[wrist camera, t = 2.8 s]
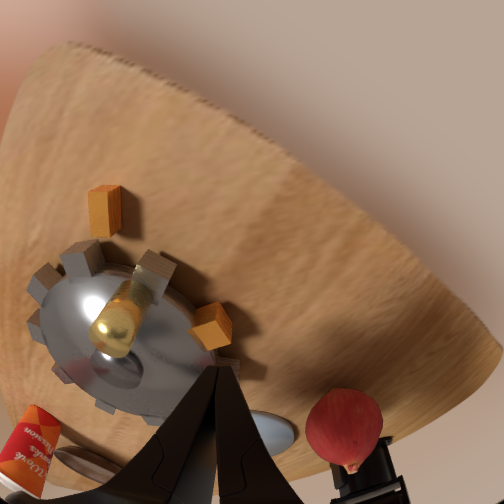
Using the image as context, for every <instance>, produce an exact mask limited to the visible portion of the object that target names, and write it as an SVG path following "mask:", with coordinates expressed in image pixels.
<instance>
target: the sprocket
mask: <svg viewBox="0 0 504 504" xmlns="http://www.w3.org/2000/svg"><path fill="white" fill-rule="evenodd" d="M60 258H61V261H62V264H63V266H64V269H65V272H66V274H65V275H64V276H63V277H62V276H61V275H60V274H59V273H58V272H57V271H56V270H55V269H54V268H53V267H52V266H51V265H50V263H49V262H48V263H46V264H45V265H44V266H43V267H42V268H41V269H39V270H38V271H37V272H36V273H35V274H34V275H33V276H32V279H31V281H30V283H29V286H28V288H27V290H26V291H27V292H28V293H29V294H30V295H31V296H32V297H33V298H34V299H35V300H36V301H37V302H38V303H39V304H40V305H41V308H40V309H39V308H38V309H37V310H36V311H35V313H34V314H33V315H32V316H31V317H30V318H29V319H28V320H27V325H28V328H29V331H30V334H31V337H32V340H35V341H37V342H39V343H42V344H44V345H46V346H47V348H48V350H49V352H50V354H51V356H52V357H53V359H54V360H55V364H54V365H53V367H52V368H51V370H52V371H53V372H54V373H55V374H56V375H57V376H58V377H59V378H60V380H61V381H62V382H63V383H64V384H70V383H75V384H76V385H77V386H79V387H80V388H81V389H82V390H84V391H85V392H87V393H88V394H89V395H91V396H92V397H94V398H96V403H95V406H96V407H98V408H100V409H102V410H104V411H106V412H108V413H110V414H112V415H114V412H115V409H118V410H121V411H124V412H127V413H131V414H135V415H139V416H142V417H143V419H144V420H145V422H146V423H147V424H148V425H152V426H161V425H162V424H163V422H164V421H165V420H166V419H167V417H168V416H169V415H170V413H171V412H172V411H173V410H174V408H175V407H176V406H177V404H178V403H179V402H180V401H181V399H182V398H183V397H184V395H185V394H186V393H187V391H188V390H189V389H190V387H191V386H192V385H193V384H194V382H195V381H196V380H197V378H198V377H199V376H200V374H201V373H202V372H203V370H204V369H205V368H206V366H208V365H219V366H220V365H231V366H232V368H233V370H234V373H235V375H236V378H237V380H238V382H239V370H240V360H238V359H232V358H225V357H219V356H218V349H217V348H219V347H222V346H225V345H228V344H231V338H232V326H233V323H232V322H231V320H230V319H229V317H228V315H227V314H226V312H225V311H224V309H223V307H222V306H221V304H220V303H219V301H217V302H215V303H212V304H209V305H207V306H204V307H201V308H199V309H196V308H195V307H194V306H193V305H192V304H191V303H190V302H189V301H188V300H187V299H186V298H185V297H184V296H183V295H181V294H180V293H179V292H178V291H177V290H175V289H174V288H172V287H171V286H169V285H168V283H169V281H170V279H171V276H172V274H173V272H174V270H175V268H176V266H177V264H176V263H174V262H172V261H170V260H168V259H166V258H164V257H162V256H160V255H158V254H156V253H154V252H153V251H151V250H149V249H148V250H147V252H146V253H145V254H144V255H143V257H142V258H141V259H140V261H139V262H138V263H137V265H136V268H133V267H129V266H126V265H122V264H116V263H107V262H105V259H104V256H103V253H102V250H101V247H100V243H99V240H98V239H95V240H89V241H83V242H77V243H74V244H73V245H72V246H71V247H69V248H68V249H67V250H66V251H64V252H63V253H62V254H61V255H60Z"/></svg>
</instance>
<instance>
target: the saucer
mask: <svg viewBox="0 0 504 504" xmlns="http://www.w3.org/2000/svg"><path fill="white" fill-rule="evenodd" d="M54 455H55V457H56V458H57V459H58V460H59V461H61V462H62V463H63V464H65V465H66V466H67V467H69V468H70V469H72V470H74V471H75V472H77V473H79V474H81V475H83V476H85V477H87V478H89V479H91V480H93V481H96V482H98V483H101V484H105V483H106V482H107V481H108V480H110V479H111V478H112V477H113V476H114V475H115V474H116V473H117V472H119V471H120V470H121V469H122V468H120V467H119V466H117V465H116V464H114V463H112V462H111V461H109V460H107V459H105V458H103V457H101V456H99V455H97V454H94V453H92V452H89V451H87V450H84V449H81V448H78V447H72V446H68V447H62V448H59V449H56V450H54Z"/></svg>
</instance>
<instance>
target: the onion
mask: <svg viewBox="0 0 504 504" xmlns="http://www.w3.org/2000/svg"><path fill="white" fill-rule="evenodd" d="M382 428H383V418H382V414H381V411H380V408H379V406H378V404H377V403H376V402H375V400H374V399H373V398H371V397H370V396H368V395H366V394H365V393H363V392H361V391H358V390H354V389H342V388H338V387H337V388H333V389H331V390H330V391H329V392H328V393H327V394H326V395H324V396H323V397H322V398H321V399H320V400H319V401H318V402H317V403H316V405H315V406H314V407H313V408H312V409H311V411H310V414H309V416H308V418H307V421H306V429H305V434H306V437H307V441H308V442H309V444H310V446H311V447H312V449H313V450H314V451H315V452H316V454H317V455H318V456H320V457H321V458H322V459H324V460H326V461H328V462H330V463H333V464H337V465H341V466H344V467H345V469H346V470H347V473H348V474H353V473H355V472H357V471H358V468H359V467H360V465H361V464H362V463H363V462H364V460H365V459H366V458H367V457H368V456H369V455H370V454H371V452H372V451H373V450H374V448H375V447H376V444H377V442H378V439H379V436H380V433H381V431H382Z"/></svg>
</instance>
